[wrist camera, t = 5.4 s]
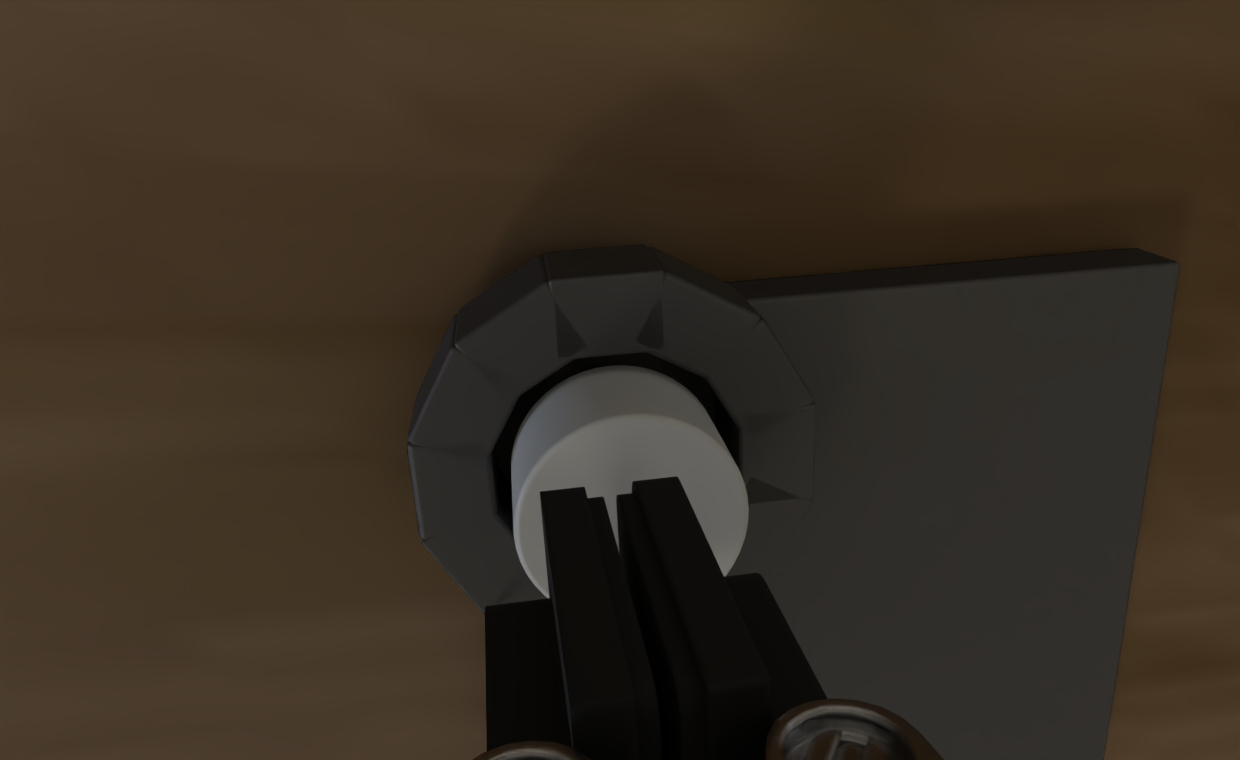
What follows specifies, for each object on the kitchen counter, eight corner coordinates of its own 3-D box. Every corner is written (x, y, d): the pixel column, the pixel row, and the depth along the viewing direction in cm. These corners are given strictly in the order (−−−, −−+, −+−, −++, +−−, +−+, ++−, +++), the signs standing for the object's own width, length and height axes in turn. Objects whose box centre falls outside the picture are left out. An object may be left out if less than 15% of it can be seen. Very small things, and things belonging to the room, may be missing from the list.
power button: (520, 563, 15) (524, 640, 13) (501, 373, 14) (502, 428, 12) (719, 541, 15) (751, 613, 14) (715, 353, 14) (750, 403, 12)
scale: (484, 852, 20) (482, 982, 18) (403, 246, 16) (383, 292, 13) (1066, 770, 22) (1151, 881, 19) (1146, 188, 17) (1274, 219, 14)
